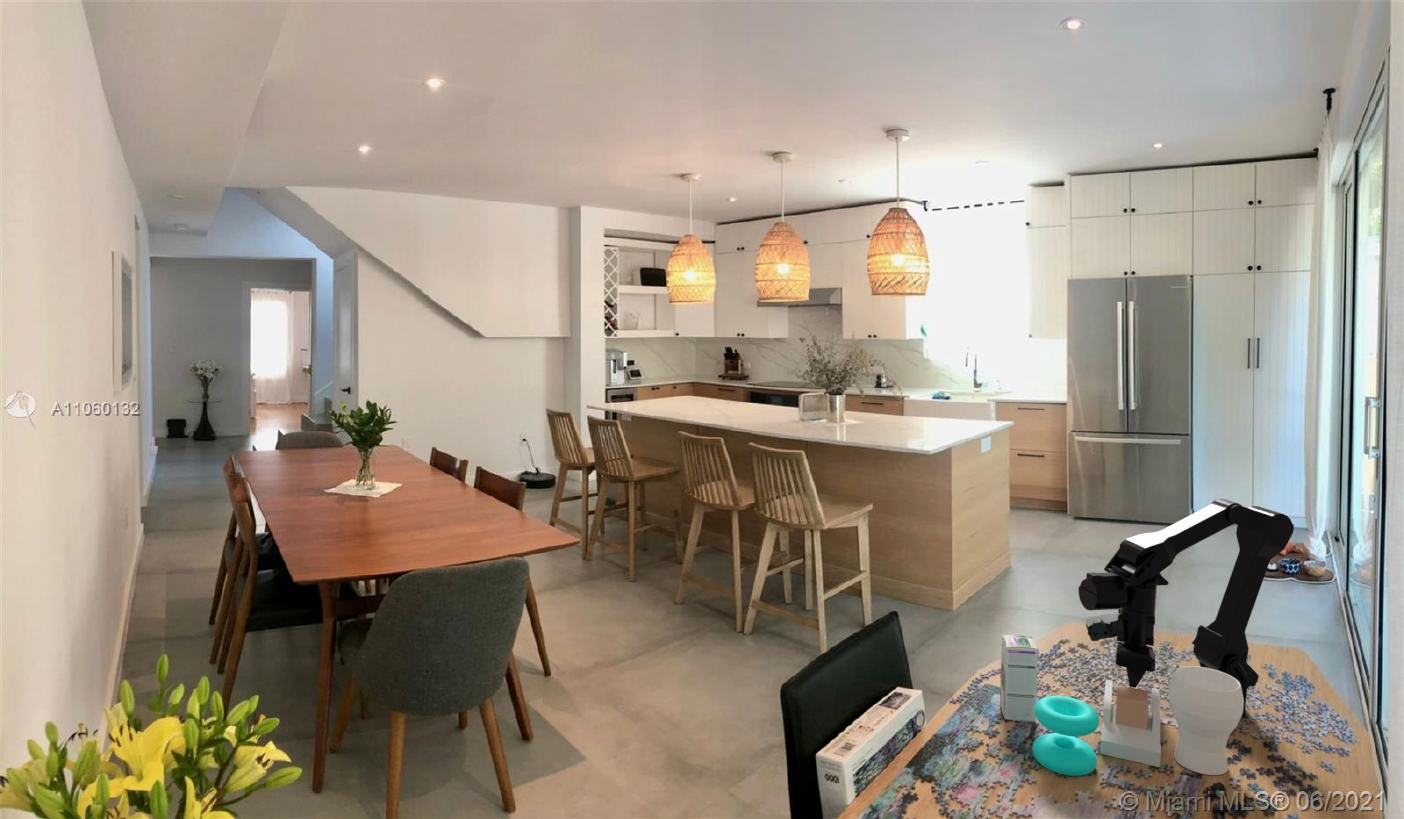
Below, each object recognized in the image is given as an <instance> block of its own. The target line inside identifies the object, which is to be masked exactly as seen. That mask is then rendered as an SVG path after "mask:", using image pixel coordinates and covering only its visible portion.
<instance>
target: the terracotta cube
mask: <svg viewBox="0 0 1404 819" xmlns="http://www.w3.org/2000/svg"><path fill="white" fill-rule="evenodd" d="M1116 687H1117V688H1116V700H1115V701H1116V704H1115V705H1116V715H1115V723H1117V724H1122V725H1127V726H1131V727H1136V728H1141V729H1146V730H1147V720H1148V711H1149V707H1150V706H1149V703H1150V702H1149V701H1150V700H1149V690H1144V689H1139V688H1134V687H1130V686H1124V685H1118V684H1117V686H1116Z"/></svg>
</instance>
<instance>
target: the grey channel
mask: <svg viewBox="0 0 1404 819" xmlns="http://www.w3.org/2000/svg"><path fill="white" fill-rule="evenodd" d="M1113 684H1114V683H1113V679H1112V680H1110V679H1107V678H1106V679H1105V687H1104V696H1103V710H1102V726H1101V735H1100V736H1101V737H1100V749H1099V750H1100V751H1099V752H1100V755H1105V756H1110V757H1113V758H1118V759H1122V760H1127V761H1131V762H1135V763H1140V764H1143V765H1149V766H1152V767H1159V768H1160V767H1161V759H1162V758H1161V756H1162V753H1161V752H1162V751H1161V750H1162V746H1161V723H1162V719H1161V700H1160V689H1159V688H1153V687H1151V693H1150V695H1151V696H1150V706H1149V708H1150V710H1148V720H1147V730H1146V729H1141V728H1136V727H1131V726H1127V725H1122V724H1117V723H1115V715H1116V704H1114V703H1112V698H1113V696H1112V695H1113Z"/></svg>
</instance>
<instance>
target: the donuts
mask: <svg viewBox="0 0 1404 819" xmlns="http://www.w3.org/2000/svg"><path fill="white" fill-rule="evenodd" d="M1034 712H1035V716H1036V720H1037V721H1038V722H1039V723H1040V725H1042V726H1043V727H1045V728H1046V729H1048V730H1049V731H1052V733H1044V734H1042V735H1040V736H1039V737H1037V738H1036V739H1035V740H1034V741H1033V743H1032V747H1031V748H1032V754H1033V757H1034V758H1035V760H1036V761H1037V762H1038V763H1039V764H1040V765H1041V766H1043V767H1044V768H1045V769H1048V770H1049V771H1051V772H1054V773H1057V774H1061V775H1065V776H1073V777H1076V776H1077V777H1079V776H1085V775H1088V774H1090V773H1091V772H1093V771H1094V770H1095V769H1096V767H1097V764H1098V758H1097V754H1096V752H1095V751H1094V749H1093V748H1092V747H1091V746H1090V745H1089V744H1088V743H1087V742H1085V741H1084V740H1082V739H1080V738H1079V737H1084V736H1088V735H1091V734H1093V733H1094V732H1095V731H1097V730H1098V728H1099V726H1100V717H1099V714H1098V713H1097V710H1096V709H1094V707H1092V706H1091V705H1090V704H1088V703H1086V702H1084V701H1082V700H1080V699H1076V698H1075V697H1074V698H1073V697H1070V696H1064V695H1048V696H1045V697H1042V698H1040V699H1039V700H1038V701H1036V705H1035V708H1034Z"/></svg>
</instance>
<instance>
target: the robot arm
mask: <svg viewBox="0 0 1404 819" xmlns="http://www.w3.org/2000/svg"><path fill="white" fill-rule="evenodd" d="M1232 525H1237V526H1236V530H1235V531H1236V533H1235V534H1236V538H1237V544H1238V548H1239V550H1238V551H1239V552H1238V554H1237V557H1236V559H1235V560H1236V561H1235V563H1234V565H1233V568H1232V572H1231V574H1230V578H1229V580H1228V582H1227V585H1226V588H1225V592H1224V594H1223V596H1222V599H1221V602H1220V606H1219V609H1218V611H1217V614H1216V617H1215V620H1213V621H1212V622H1210V623H1209V624H1208V625H1207V626H1204V625H1203V624H1200V625H1199V626H1198V628H1197V631H1196V635H1195V638H1194V640H1193V641H1192V642H1191V644H1192V645H1194V646H1193V650H1192V651H1193V654H1194V656H1195V658H1196V660H1198V664H1199V667H1205V668H1210V669H1214V670H1217V671H1221V672H1224V673H1226V674H1228V675H1230V676H1232V677H1234V678H1235V679H1237V680H1238V681H1239V682H1240V685H1241V688H1242V693H1243V699H1244V706H1243V713H1242V716H1241V718H1244V719H1245V718H1247V717H1248V714H1247V710H1246V706H1247V696H1248V695H1247V694H1248V689H1249V688H1250V687H1256V685H1257V682H1258V680H1259V678H1260V675H1259V674H1258V673H1257V672H1256V671H1255V670H1254V668H1252V667H1251V665H1249V664H1248V662H1247V660H1248V656H1249V655H1248V654H1249V645H1248V640H1247V636H1246V630H1247V627H1248V623H1249V620H1250V618H1251V615H1252V612H1253V609H1254V607H1255V604H1256V602H1257V599H1258V596H1259V592H1260V590H1261V587H1262V584H1263V582H1264V579H1265V575H1266V573H1267V570H1268V568H1269V566H1270V563H1271V560H1272V559H1273V558H1275V557H1276V556H1278V555H1279V554H1280V553H1282V552H1283V551H1284V550H1285V549H1286V547H1287V545H1288V544H1289V541H1290V539H1291V538H1292V535H1293V533H1294V529H1295V524H1294V523H1293V522H1292V520H1291V518H1290V517H1289V516H1288V515H1287V514H1284V513H1281V512H1278V511H1274V510H1271V509H1268V508H1265V507H1262V506H1259V505H1258V506H1257V505H1253V506H1249V507H1245V506H1243V505H1242V504H1241V503H1238V502H1234V501H1231V500H1228V499H1225V498H1219V499H1214V500H1213V501H1212V502H1211V503H1210V504H1209V505H1207V506H1205V507H1204V508H1201V509H1200V510H1198V511H1195V512H1194V513H1192V514H1190V515H1187V516H1186V517H1184V518H1182V519H1180V520H1178V521H1176V522H1175V523H1173V524H1171V525H1169V526H1167V527H1165V528H1163V529H1161V530H1158V531H1153V532H1152V531H1151V532H1145V533H1143V532H1142V533H1141V534H1136V535H1134V536H1131V537H1128V538H1125V539H1123V541H1122V542H1120V544H1119V548H1118V550H1117V551H1116V552H1115V554H1114V555H1113V556H1112V557H1111V558H1110V560H1109V562H1108V563H1107V564H1106V565H1105V566H1104V569H1103V570H1104V571H1105V572H1095V571H1093V572H1087V573H1086V578H1084V579H1083V580H1082V581H1081V582H1080V585H1079V586H1078V596H1079V601H1080V603H1081V605H1082V606H1083V608H1084V609H1085V610H1087V611H1107V610H1117V611H1118V613H1113V614H1111V613H1107V614H1101V615H1096V616H1095V615H1094V616H1089V617H1087V618H1086V619H1085V620H1086V621H1085V627H1086V630H1087V635H1088V636H1089V639H1090V641H1092V642H1099V640H1104V639H1112V638H1113V639H1114V638H1116V642H1117V643H1116V645H1117V646H1116V649H1115V650H1116V652H1115V666H1118V667H1121V668H1125V669H1126V674H1127V679H1128V681H1127V682H1128V685H1129V686H1128V687H1130V688H1135V689H1137V687H1138V685H1139V683H1140V682H1141V680H1142V679H1143V677H1144V676H1145V675H1146V673H1147V672H1149V673H1151V672H1156V653H1155V652H1154V645H1155V644H1154V640H1155V638H1154V635H1155V625H1156V604H1157V588H1158V587H1159V586H1168V585H1169V583H1170V582H1169V581H1168V580H1167V579H1166V578H1165V577H1164V576H1163V575H1162V574H1161V573H1162V572H1163V571H1164V570H1166V569H1167V568H1168V567H1169V566H1171V565H1172V564H1173V562H1174V560H1175V559H1176V556H1178V555H1179V554H1180V553H1181V552H1183V551H1185V550H1187V549H1189V548H1191V547H1193V546H1195V545H1196V544H1198V543H1200V542H1202V541H1204V540H1206V539H1208V538H1210V537H1212V536H1214V535H1216V534H1217V533H1219V532H1221V531H1223V530H1225V529H1227V528H1229V527H1230V526H1231V527H1232ZM1123 567H1126V568H1128V569H1129V570H1132V571H1134V572H1132V571H1129V570H1127V569H1125V568H1123Z"/></svg>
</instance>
